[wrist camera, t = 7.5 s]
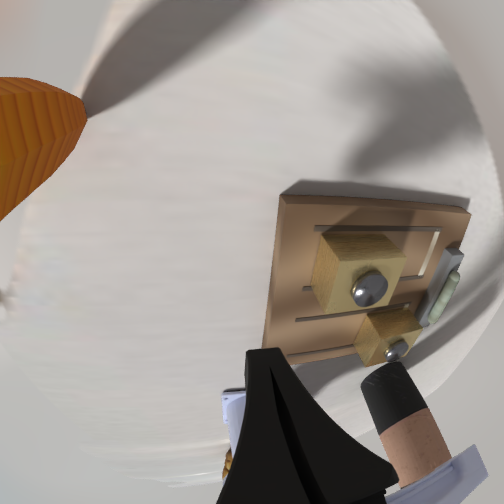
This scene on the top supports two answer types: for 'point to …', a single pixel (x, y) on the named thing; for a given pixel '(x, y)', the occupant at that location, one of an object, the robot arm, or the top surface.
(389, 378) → the travel mug
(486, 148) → the top surface
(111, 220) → the top surface
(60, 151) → the carrot
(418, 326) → the slide
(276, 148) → the top surface
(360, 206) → the base
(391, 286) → the slide
